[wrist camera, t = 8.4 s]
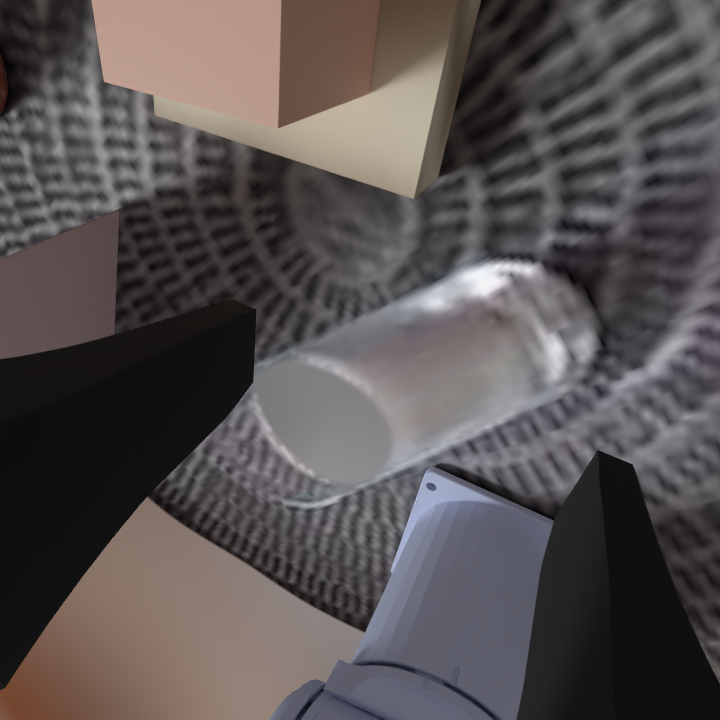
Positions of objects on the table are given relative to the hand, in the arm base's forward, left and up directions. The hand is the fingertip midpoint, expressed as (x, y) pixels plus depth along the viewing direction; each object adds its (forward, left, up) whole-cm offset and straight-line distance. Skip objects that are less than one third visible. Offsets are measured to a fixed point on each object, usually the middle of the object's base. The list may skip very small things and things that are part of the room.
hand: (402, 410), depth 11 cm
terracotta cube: (+6, +8, -8) cm, 13 cm away
